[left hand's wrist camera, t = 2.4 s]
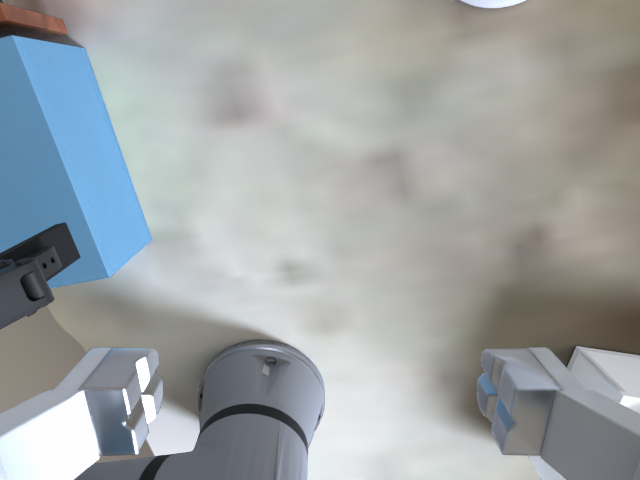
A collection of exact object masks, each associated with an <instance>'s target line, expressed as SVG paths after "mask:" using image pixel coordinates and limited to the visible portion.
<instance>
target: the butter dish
mask: <svg viewBox="0 0 640 480" xmlns="http://www.w3.org/2000/svg"><path fill="white" fill-rule="evenodd" d="M567 369H568V370H569V371H570V372H571V373H572V374H573V376H574V377H575V378H576V379H577V380H578V381H579V382H580V383H581V384H582V386H583V387H584V388H585V389H586V390H594V391H596V392H598V393H600V394H602V395H604V396H606V397H608V398H610V399H612V400H614V401H616V402H618V403H620V404H622V405H624V406H626V407H628V408H630V409H632V410H634V411H636V412H638V413H640V355H633V354H626V353H620V352H613V351H606V350H600V349H593V348H586V347H580V346H576V348H575V350H574V353H573V355H572V357H571V359H570V362H569V364H568V366H567ZM540 457H541V456H528V458H529V459H530V461H531V463H532V465H533V466H534V468H535V470H536V472H537V473H538V475H539V477H540V479H541V480H566V479H565V478H564V477H563V476H562V475H560V474H559V473H558V472H557V471H556V470H554V469H553V468H552V467H551V466H550V465H548V464H547V463H546V462H545V461H544V460H543V459H541V458H540Z"/></svg>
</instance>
